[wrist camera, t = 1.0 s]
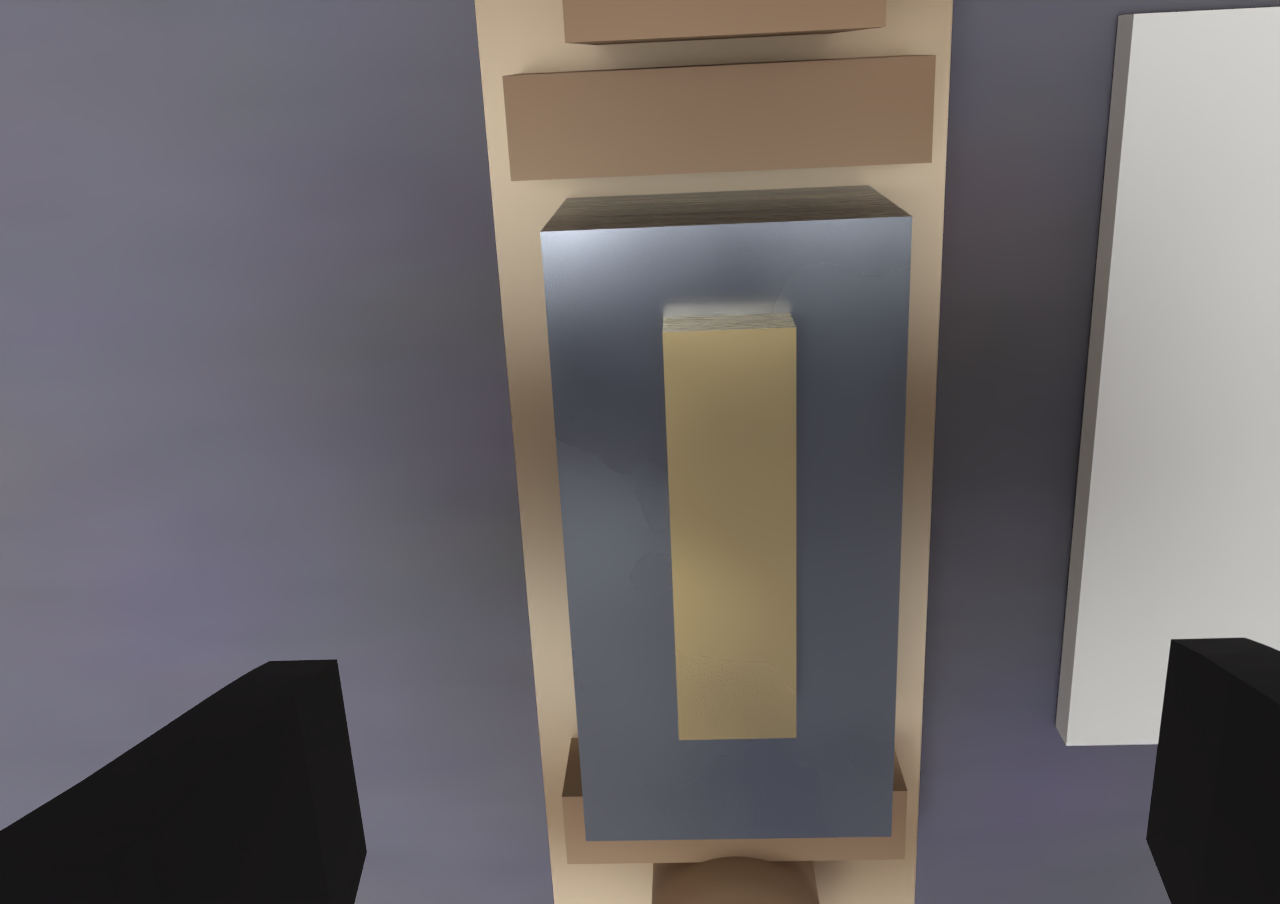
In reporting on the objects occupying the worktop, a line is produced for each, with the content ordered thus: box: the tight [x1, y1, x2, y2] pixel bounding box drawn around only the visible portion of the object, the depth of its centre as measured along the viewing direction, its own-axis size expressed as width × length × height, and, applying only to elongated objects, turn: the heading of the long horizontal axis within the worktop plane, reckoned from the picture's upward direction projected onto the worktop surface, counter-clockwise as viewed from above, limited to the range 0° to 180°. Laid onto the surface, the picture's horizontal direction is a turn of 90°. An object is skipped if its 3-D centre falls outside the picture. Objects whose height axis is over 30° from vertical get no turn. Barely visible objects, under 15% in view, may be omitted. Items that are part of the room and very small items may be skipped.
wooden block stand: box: [475, 0, 953, 904], centre depth 16 cm, size 16×6×6 cm, turn 3°
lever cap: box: [540, 185, 912, 841], centre depth 15 cm, size 8×4×4 cm, turn 3°
